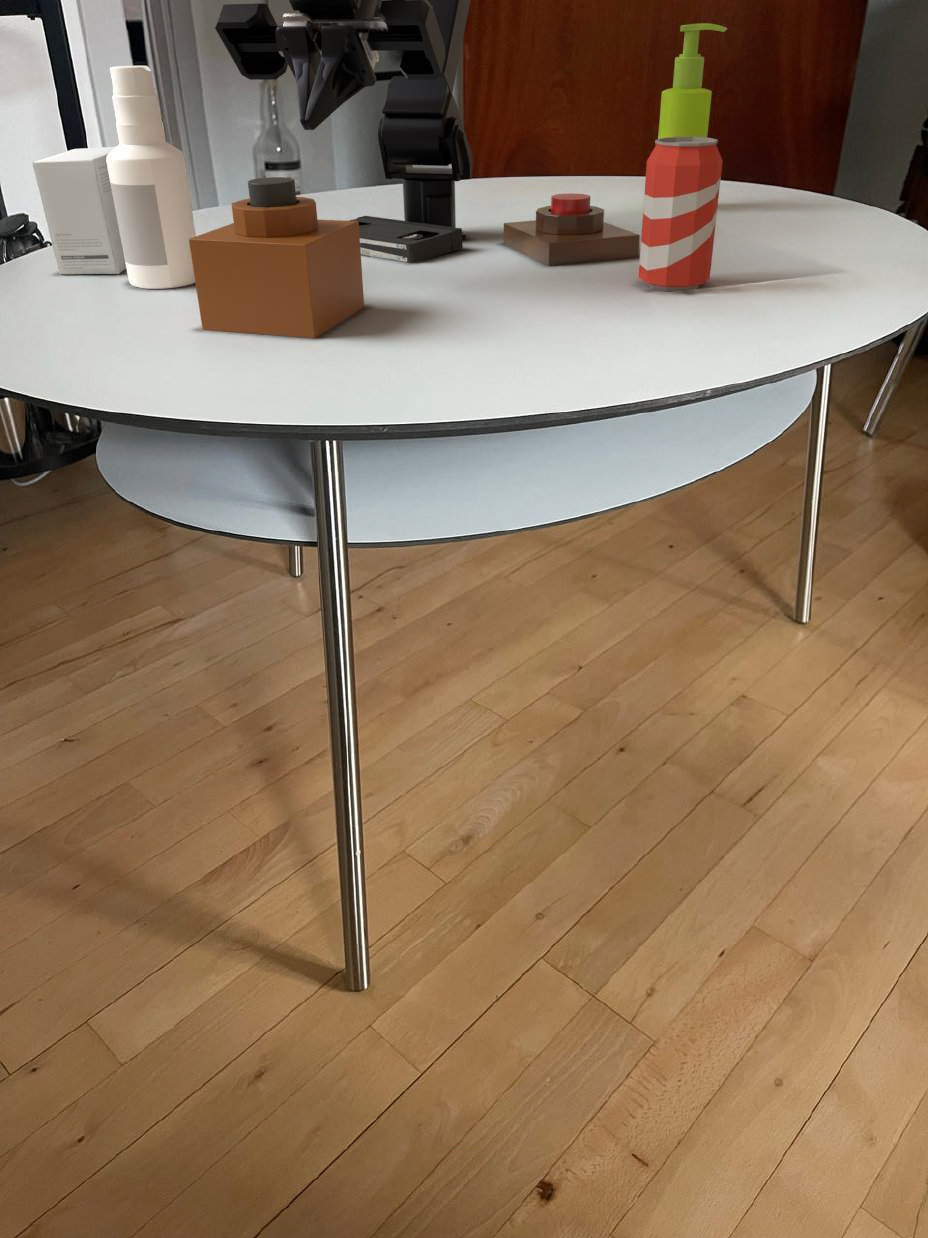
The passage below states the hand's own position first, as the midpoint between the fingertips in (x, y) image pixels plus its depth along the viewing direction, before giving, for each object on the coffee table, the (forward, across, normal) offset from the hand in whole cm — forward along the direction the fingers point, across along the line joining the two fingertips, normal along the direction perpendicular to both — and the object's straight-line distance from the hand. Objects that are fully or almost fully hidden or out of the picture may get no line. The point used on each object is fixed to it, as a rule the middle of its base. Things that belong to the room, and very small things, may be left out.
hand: (306, 126), depth 81 cm
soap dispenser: (-29, +24, +48) cm, 61 cm away
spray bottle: (+8, -18, +12) cm, 23 cm away
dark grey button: (+9, 0, -1) cm, 9 cm away
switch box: (-8, +17, +28) cm, 33 cm away
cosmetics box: (+4, -28, +16) cm, 32 cm away
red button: (-11, +17, +25) cm, 32 cm away
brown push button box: (+15, 0, +5) cm, 15 cm away
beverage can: (+1, +29, +19) cm, 35 cm away
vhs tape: (-6, -2, +25) cm, 26 cm away
